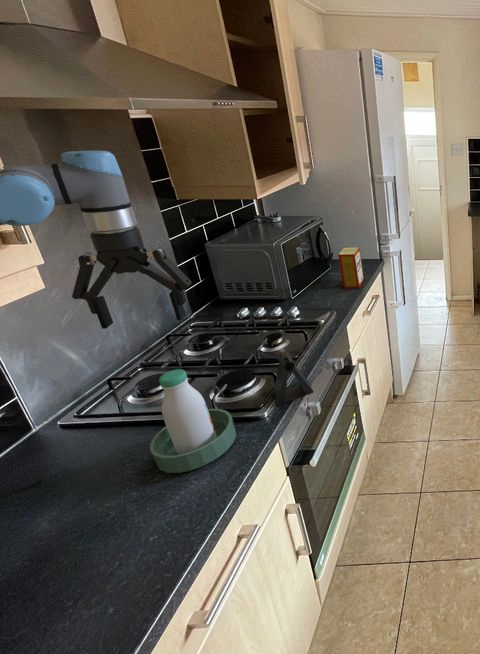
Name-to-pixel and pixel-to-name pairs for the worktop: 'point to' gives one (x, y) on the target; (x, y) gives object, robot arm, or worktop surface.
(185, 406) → the milk bottle
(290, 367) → the phone stand
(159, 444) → the green jar lid
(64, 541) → the worktop surface
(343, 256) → the baking soda box
